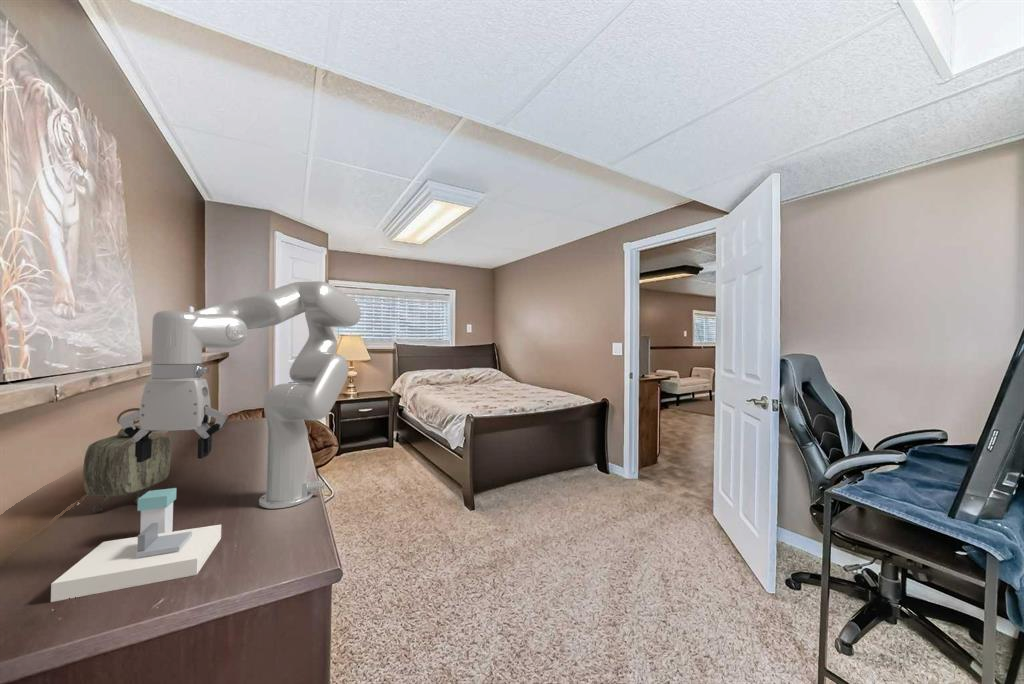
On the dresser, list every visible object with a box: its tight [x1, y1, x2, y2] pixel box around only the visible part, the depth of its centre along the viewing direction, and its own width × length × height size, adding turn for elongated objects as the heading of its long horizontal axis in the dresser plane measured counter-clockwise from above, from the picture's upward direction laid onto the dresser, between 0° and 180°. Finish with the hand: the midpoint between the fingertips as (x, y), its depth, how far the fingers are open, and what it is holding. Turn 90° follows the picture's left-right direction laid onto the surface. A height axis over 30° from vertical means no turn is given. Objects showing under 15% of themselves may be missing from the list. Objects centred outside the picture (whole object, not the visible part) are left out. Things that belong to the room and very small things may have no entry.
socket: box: [50, 524, 222, 603], centre depth 71 cm, size 19×14×3 cm
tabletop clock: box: [82, 407, 172, 513], centre depth 98 cm, size 14×9×25 cm, turn 178°
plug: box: [136, 487, 177, 534], centre depth 81 cm, size 5×5×10 cm
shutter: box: [136, 522, 192, 558], centre depth 72 cm, size 6×6×4 cm
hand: (174, 458), depth 74 cm, fingers open, 9 cm apart
